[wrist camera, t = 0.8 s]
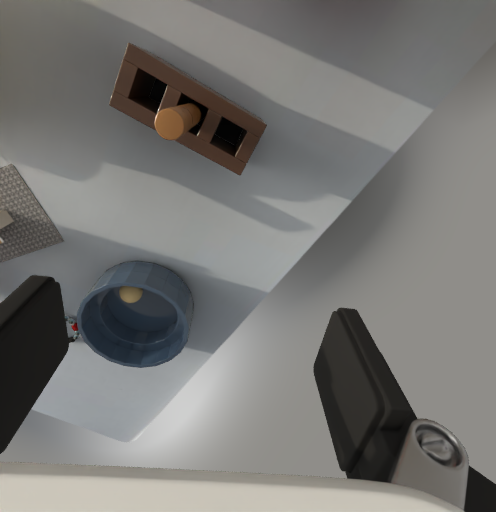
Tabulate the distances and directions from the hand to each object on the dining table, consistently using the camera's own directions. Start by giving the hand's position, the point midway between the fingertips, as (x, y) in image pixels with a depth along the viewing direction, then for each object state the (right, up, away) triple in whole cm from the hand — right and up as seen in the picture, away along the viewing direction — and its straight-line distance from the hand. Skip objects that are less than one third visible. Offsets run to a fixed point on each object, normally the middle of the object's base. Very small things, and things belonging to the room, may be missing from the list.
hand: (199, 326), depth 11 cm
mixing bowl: (-15, -5, +39) cm, 41 cm away
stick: (-4, +20, +26) cm, 33 cm away
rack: (-4, +20, +26) cm, 33 cm away
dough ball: (-16, -2, +36) cm, 39 cm away
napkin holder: (-33, +7, +32) cm, 47 cm away
